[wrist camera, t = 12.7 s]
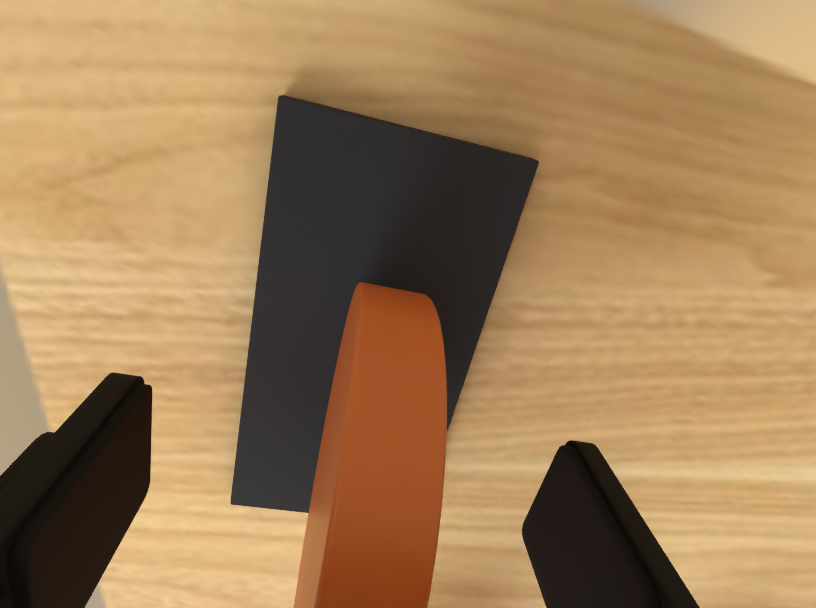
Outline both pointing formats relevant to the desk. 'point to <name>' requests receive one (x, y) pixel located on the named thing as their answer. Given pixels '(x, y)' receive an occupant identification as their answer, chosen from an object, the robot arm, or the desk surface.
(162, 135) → the desk surface
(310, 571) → the disc
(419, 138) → the mat
